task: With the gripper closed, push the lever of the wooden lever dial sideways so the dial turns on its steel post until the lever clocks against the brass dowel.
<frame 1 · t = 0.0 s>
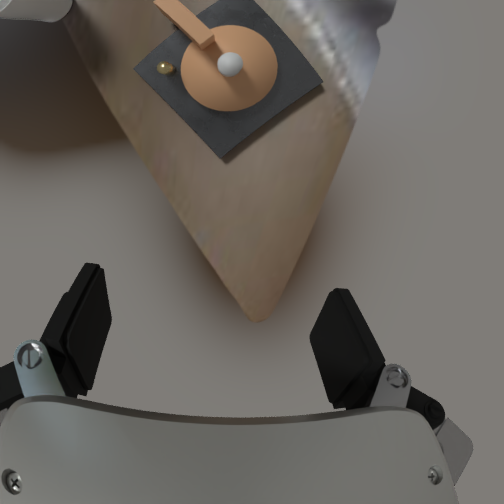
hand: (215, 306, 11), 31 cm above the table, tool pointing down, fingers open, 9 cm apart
wooden lever dial: (212, 47, 26), point 5 cm above the table, hinge at 0.0°
drinking glass: (60, 8, 20), on the table
base plate: (228, 69, 31), on the table
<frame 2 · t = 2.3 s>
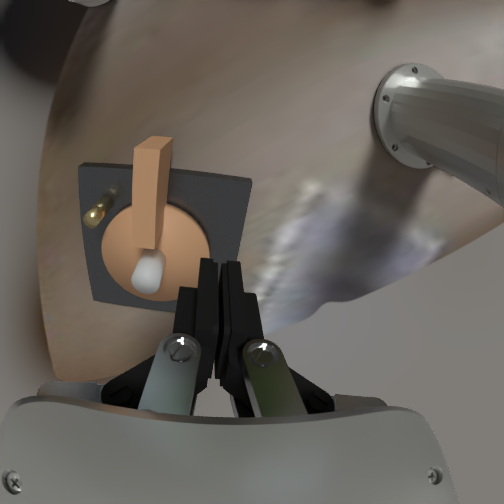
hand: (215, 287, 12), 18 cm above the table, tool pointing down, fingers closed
wooden lever dial: (150, 239, 25), point 5 cm above the table, hinge at 0.0°
base plate: (158, 244, 31), on the table
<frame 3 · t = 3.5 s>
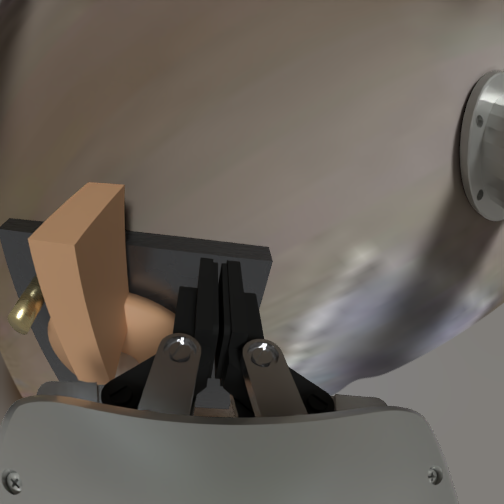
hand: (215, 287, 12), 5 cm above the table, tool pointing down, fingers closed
wooden lever dial: (108, 352, 14), point 5 cm above the table, hinge at 0.0°
base plate: (129, 332, 20), on the table
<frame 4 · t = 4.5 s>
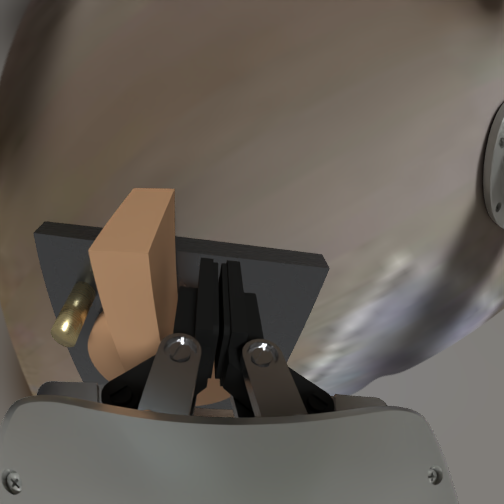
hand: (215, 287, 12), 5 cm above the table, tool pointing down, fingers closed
wooden lever dial: (160, 361, 15), point 5 cm above the table, hinge at 5.1°, touching gripper
base plate: (172, 338, 20), on the table
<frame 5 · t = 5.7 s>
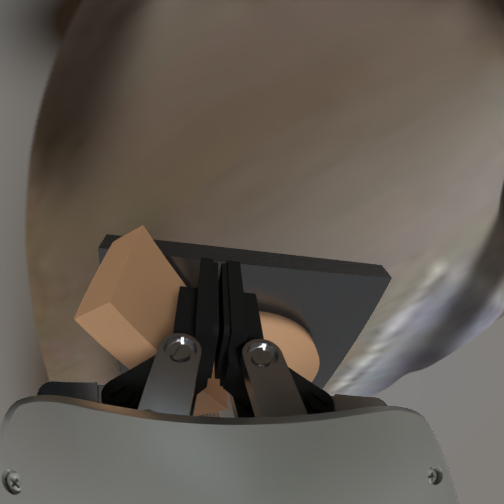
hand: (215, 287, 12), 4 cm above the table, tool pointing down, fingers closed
wooden lever dial: (215, 378, 15), point 5 cm above the table, hinge at 35.0°, touching base plate, gripper
base plate: (233, 348, 21), on the table
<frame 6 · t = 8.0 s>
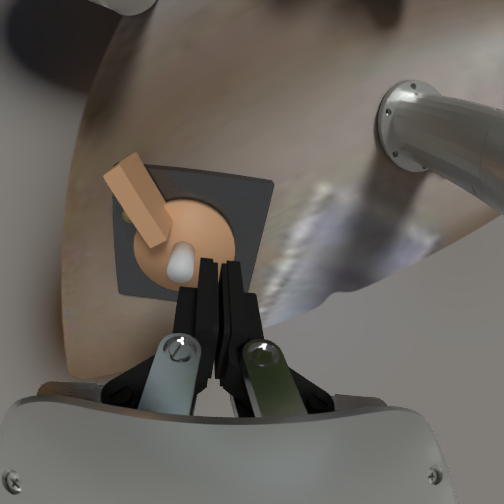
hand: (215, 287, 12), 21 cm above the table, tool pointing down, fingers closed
wooden lever dial: (166, 236, 29), point 5 cm above the table, hinge at 34.9°
base plate: (185, 239, 34), on the table
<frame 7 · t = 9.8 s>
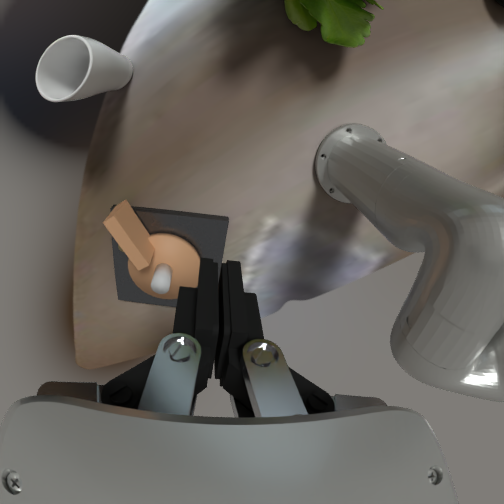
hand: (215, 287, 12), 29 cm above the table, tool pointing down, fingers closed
wooden lever dial: (150, 260, 39), point 5 cm above the table, hinge at 34.9°
drinking glass: (116, 72, 29), on the table
base plate: (166, 259, 45), on the table
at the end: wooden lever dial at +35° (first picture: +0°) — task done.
